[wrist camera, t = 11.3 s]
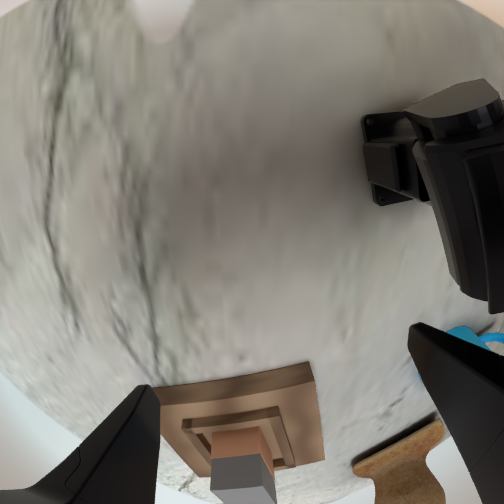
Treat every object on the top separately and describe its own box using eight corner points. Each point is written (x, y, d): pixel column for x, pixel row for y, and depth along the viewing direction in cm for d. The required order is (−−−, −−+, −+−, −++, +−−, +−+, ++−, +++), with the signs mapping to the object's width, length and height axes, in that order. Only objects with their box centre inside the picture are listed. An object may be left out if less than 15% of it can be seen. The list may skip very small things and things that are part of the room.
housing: (271, 454, 27) (278, 506, 20) (232, 459, 27) (233, 511, 20) (258, 422, 24) (263, 485, 18) (212, 429, 24) (209, 490, 18)
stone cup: (364, 476, 37) (384, 542, 23) (342, 459, 33) (365, 543, 19) (441, 434, 34) (473, 497, 20) (435, 408, 30) (479, 486, 16)
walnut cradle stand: (309, 361, 25) (317, 390, 21) (321, 444, 30) (326, 467, 27) (145, 388, 25) (136, 416, 22) (200, 462, 31) (198, 484, 28)
